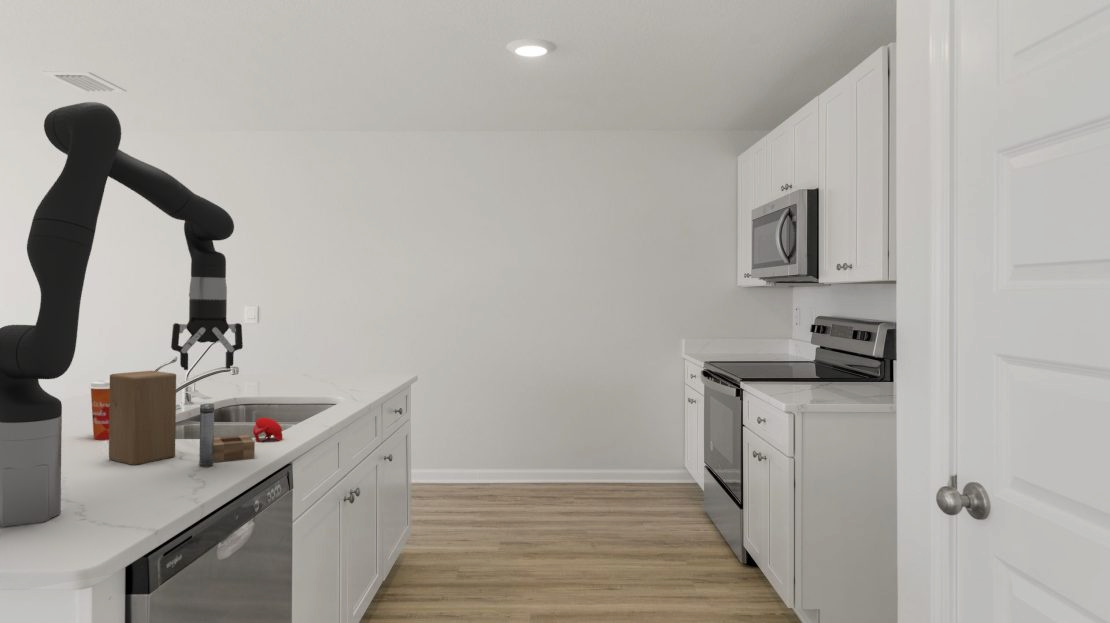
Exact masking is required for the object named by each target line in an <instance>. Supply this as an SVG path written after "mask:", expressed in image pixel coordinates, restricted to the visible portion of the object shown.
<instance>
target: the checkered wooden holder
mask: <svg viewBox="0 0 1110 623" xmlns="http://www.w3.org/2000/svg"><path fill="white" fill-rule="evenodd" d="M255 441H256V440H254V439H253V438H252V436H250V434H243V435H242V434H240V435H229V436H218V437H217V436H214V451H213V463H221V462H231V461H241V460H250V459H251V458H252V459H255V446H256V445H255ZM252 459H251V460H252Z"/></svg>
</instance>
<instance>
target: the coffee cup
mask: <svg viewBox="0 0 1110 623" xmlns="http://www.w3.org/2000/svg"><path fill="white" fill-rule="evenodd" d="M88 387H89V389H90V396H91V397H90V399H91V415H92V430H93V438H94V439H93V440H97V441H109V398H110V379H103V380H96V381H91V383H90V386H88Z"/></svg>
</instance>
